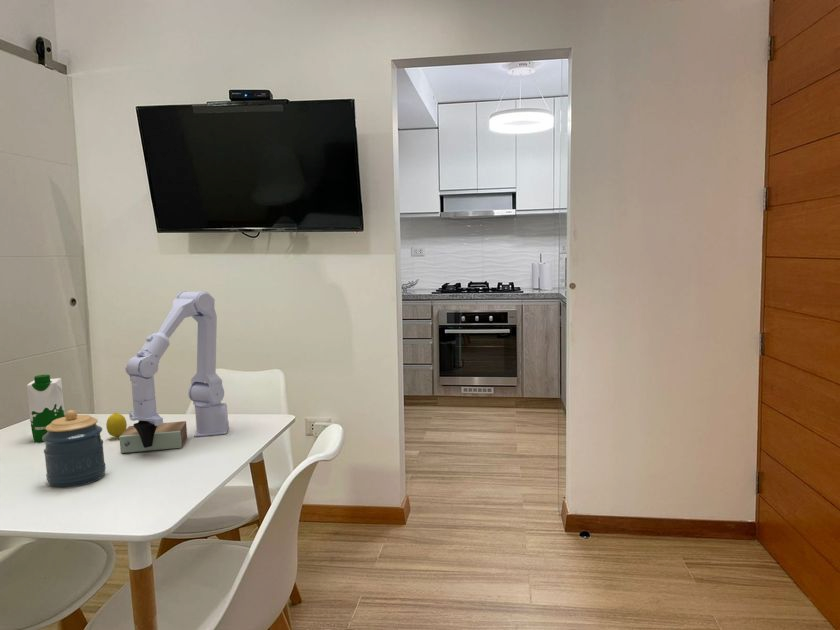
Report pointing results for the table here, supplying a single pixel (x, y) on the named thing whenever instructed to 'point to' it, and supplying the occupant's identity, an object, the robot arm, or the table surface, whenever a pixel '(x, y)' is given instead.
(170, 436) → the door
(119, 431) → the lemon
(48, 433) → the canister
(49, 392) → the milk carton
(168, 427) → the cabinet
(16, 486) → the table surface
